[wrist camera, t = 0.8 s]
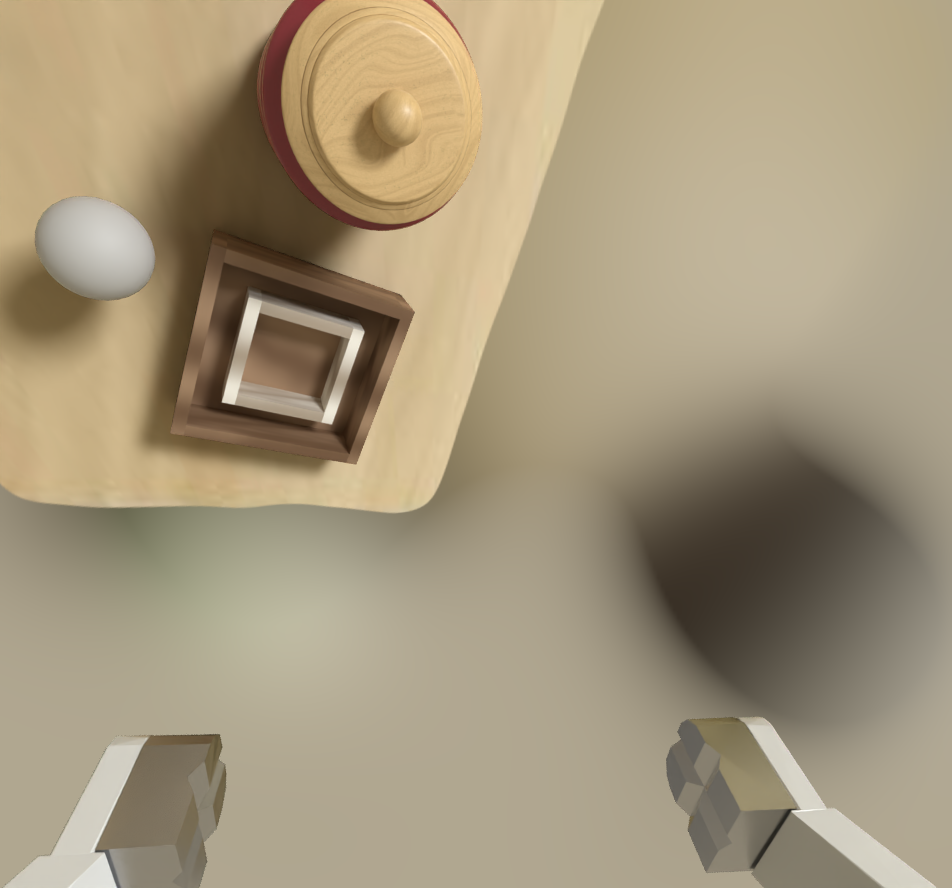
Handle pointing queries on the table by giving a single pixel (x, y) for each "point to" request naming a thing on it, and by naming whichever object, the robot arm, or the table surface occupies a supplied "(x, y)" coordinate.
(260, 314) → the socket box
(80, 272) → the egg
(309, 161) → the canister
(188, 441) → the table surface
